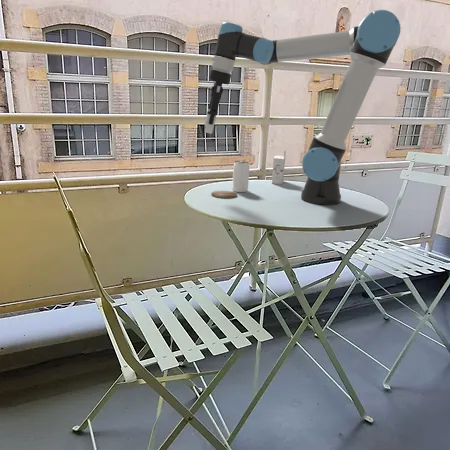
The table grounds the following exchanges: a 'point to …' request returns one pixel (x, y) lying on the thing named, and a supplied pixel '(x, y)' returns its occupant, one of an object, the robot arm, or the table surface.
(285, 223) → the table surface
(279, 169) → the ink cartridge box
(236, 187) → the can
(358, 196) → the table surface
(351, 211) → the table surface
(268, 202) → the table surface
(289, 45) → the robot arm
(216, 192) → the coaster
